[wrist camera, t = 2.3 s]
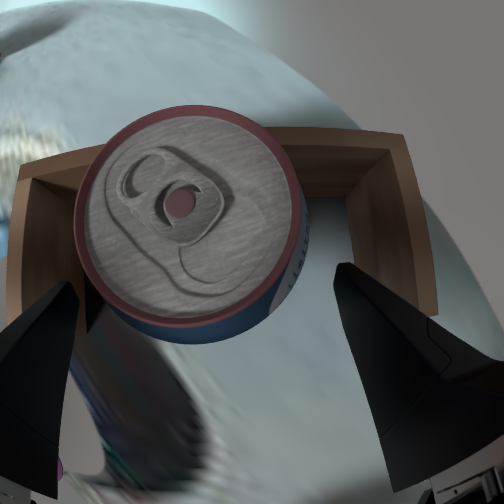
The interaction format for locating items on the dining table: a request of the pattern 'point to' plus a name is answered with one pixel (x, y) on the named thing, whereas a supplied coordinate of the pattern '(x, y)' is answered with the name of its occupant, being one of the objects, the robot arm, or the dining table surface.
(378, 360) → the robot arm
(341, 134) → the wooden u-shaped frame
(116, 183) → the soda can
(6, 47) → the dining table surface
